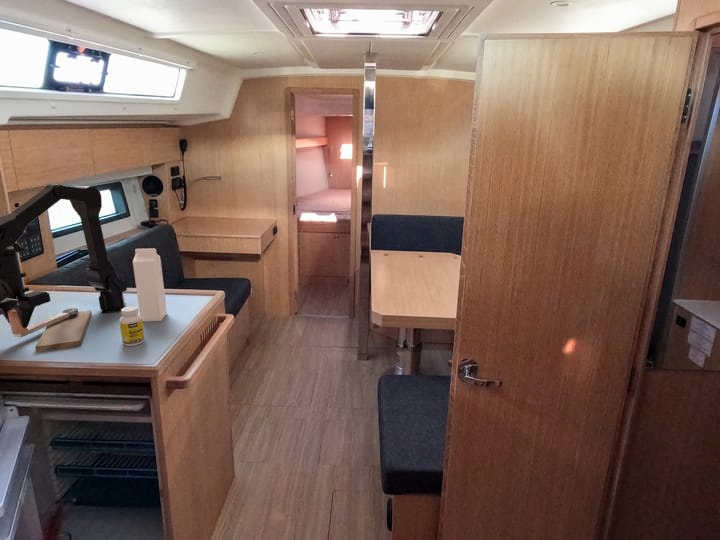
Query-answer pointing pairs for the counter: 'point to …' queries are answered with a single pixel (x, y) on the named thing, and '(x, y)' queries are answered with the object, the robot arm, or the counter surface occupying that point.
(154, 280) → the milk
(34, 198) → the robot arm
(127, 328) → the supplement bottle
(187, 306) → the counter surface
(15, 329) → the lever
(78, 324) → the light wooden base
